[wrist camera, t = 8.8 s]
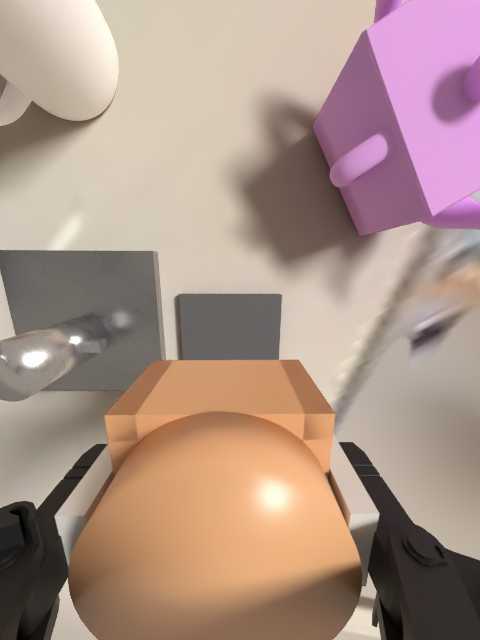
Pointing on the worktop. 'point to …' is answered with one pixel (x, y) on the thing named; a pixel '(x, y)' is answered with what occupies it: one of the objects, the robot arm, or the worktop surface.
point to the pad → (230, 326)
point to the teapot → (408, 118)
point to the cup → (56, 59)
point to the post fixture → (79, 320)
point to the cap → (218, 511)
